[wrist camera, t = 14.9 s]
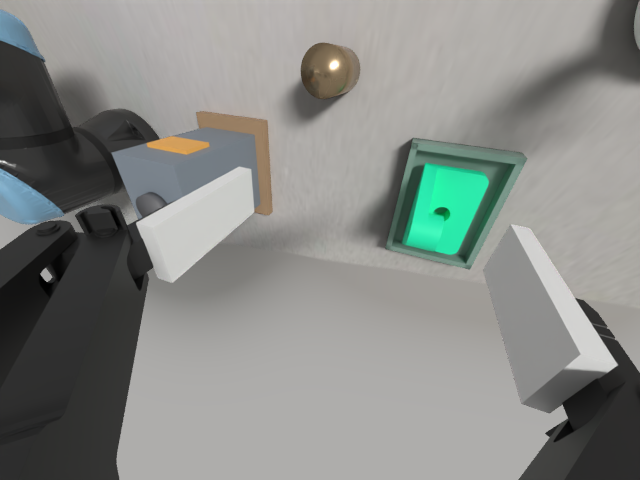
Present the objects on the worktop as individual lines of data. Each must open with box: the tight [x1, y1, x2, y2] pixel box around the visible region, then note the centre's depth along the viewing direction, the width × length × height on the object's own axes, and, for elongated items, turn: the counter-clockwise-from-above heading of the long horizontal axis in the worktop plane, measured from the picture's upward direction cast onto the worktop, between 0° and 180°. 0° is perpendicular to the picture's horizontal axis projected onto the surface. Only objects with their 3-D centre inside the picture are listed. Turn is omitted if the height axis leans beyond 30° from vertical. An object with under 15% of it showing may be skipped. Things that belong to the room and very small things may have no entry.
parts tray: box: [385, 138, 527, 269], centre depth 36 cm, size 13×17×2 cm
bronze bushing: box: [301, 43, 360, 99], centre depth 30 cm, size 5×5×7 cm
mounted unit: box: [112, 111, 272, 219], centre depth 38 cm, size 12×16×19 cm
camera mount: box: [402, 163, 489, 255], centre depth 33 cm, size 12×8×10 cm, turn 177°
